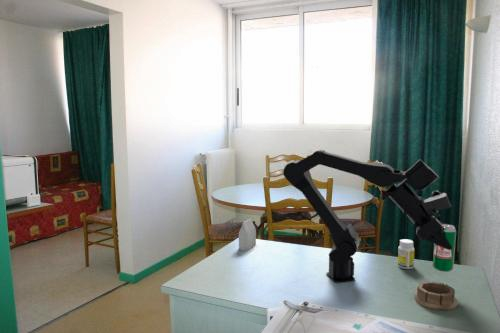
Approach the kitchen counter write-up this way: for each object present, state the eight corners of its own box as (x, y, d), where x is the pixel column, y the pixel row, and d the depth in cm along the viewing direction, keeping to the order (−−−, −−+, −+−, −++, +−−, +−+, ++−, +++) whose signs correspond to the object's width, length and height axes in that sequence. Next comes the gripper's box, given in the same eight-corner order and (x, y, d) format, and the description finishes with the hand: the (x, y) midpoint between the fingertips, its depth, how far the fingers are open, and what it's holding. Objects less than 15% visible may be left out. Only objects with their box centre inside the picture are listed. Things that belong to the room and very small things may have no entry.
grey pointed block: (255, 245, 150) (255, 218, 149) (247, 250, 144) (247, 223, 143) (247, 243, 152) (246, 217, 151) (238, 249, 146) (238, 222, 145)
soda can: (430, 269, 109) (433, 226, 107) (434, 263, 113) (437, 222, 111) (450, 274, 106) (454, 229, 104) (454, 268, 110) (458, 225, 108)
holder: (431, 312, 99) (432, 299, 98) (406, 294, 108) (407, 282, 108) (466, 307, 101) (467, 294, 101) (438, 290, 111) (439, 278, 110)
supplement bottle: (411, 264, 131) (412, 238, 130) (415, 269, 126) (416, 243, 125) (395, 263, 131) (397, 238, 130) (399, 269, 126) (400, 243, 125)
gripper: (434, 188, 99) (481, 237, 96) (431, 177, 116) (471, 218, 114) (398, 216, 103) (443, 264, 100) (400, 201, 120) (438, 242, 118)
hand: (450, 245), depth 108 cm, fingers closed on soda can, 5 cm apart
